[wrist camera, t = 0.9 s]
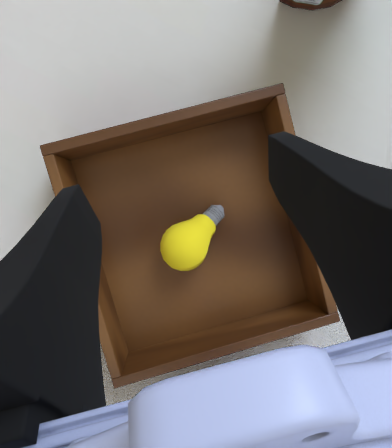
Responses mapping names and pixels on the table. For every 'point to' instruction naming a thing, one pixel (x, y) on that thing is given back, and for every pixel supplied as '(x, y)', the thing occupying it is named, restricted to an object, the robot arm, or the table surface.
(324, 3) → the food container
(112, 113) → the table surface
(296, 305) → the tray
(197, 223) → the light bulb
